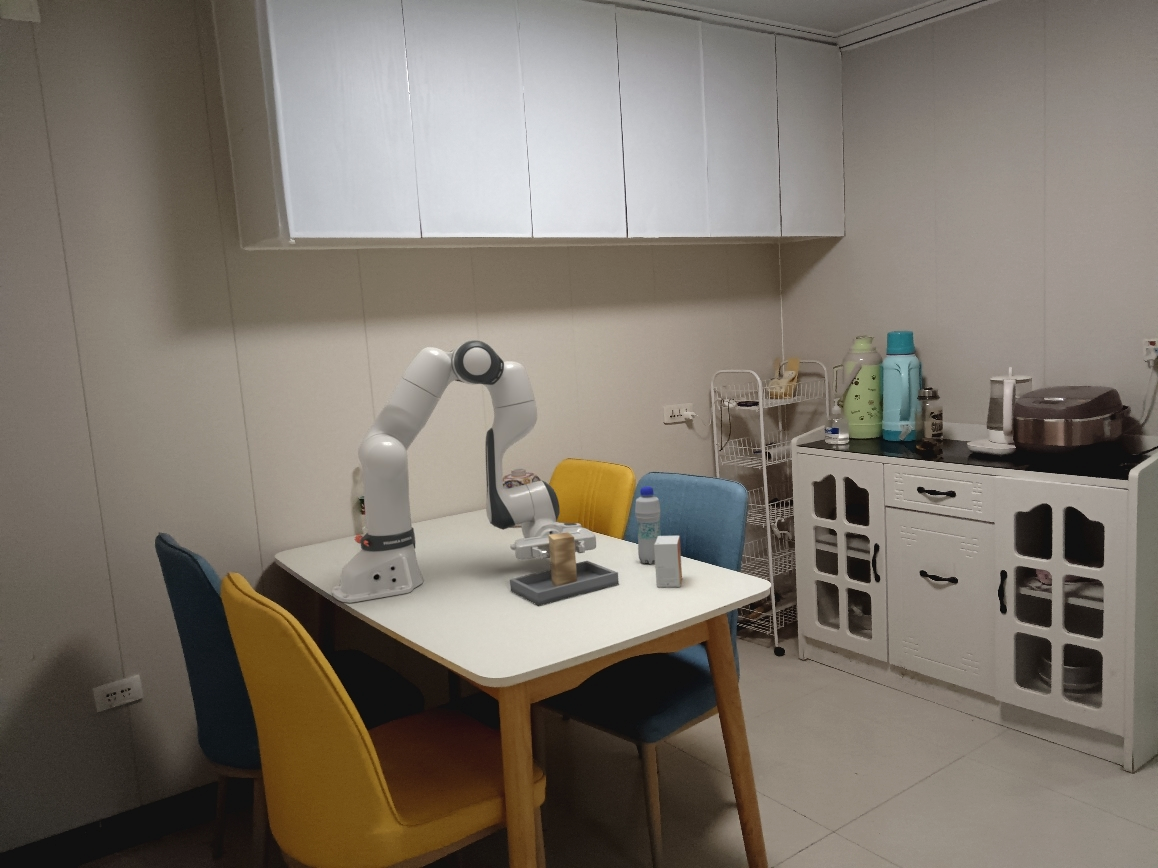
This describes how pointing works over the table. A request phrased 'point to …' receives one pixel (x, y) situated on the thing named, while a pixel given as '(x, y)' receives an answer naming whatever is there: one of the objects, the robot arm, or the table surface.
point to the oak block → (562, 559)
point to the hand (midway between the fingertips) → (563, 552)
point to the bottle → (647, 523)
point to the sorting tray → (545, 592)
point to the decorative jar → (519, 480)
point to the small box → (668, 561)
